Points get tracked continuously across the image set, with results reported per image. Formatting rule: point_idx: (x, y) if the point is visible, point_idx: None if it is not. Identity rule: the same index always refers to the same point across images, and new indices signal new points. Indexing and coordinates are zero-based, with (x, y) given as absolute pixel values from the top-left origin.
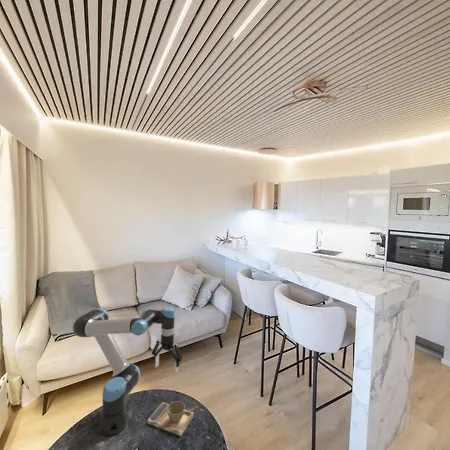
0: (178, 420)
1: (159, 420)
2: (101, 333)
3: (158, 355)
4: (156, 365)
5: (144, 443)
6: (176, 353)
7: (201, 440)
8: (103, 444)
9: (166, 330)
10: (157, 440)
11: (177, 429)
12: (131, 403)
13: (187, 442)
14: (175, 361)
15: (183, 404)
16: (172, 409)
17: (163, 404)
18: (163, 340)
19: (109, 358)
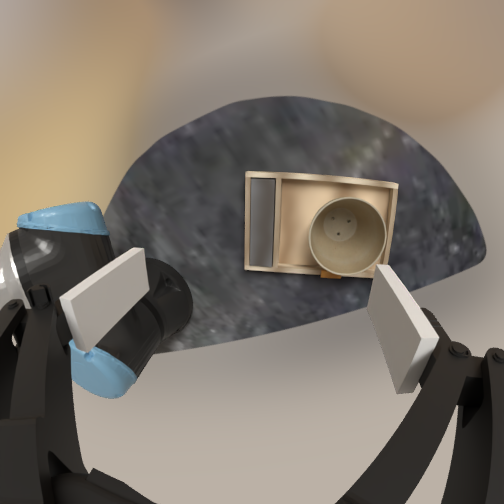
0: (360, 242)
1: (282, 246)
2: None
3: (76, 312)
4: (139, 293)
5: (283, 324)
6: (447, 499)
7: (440, 265)
8: (184, 347)
9: None
10: (315, 307)
11: (369, 273)
12: (137, 208)
13: (405, 284)
14: (403, 385)
15: (373, 207)
16: (320, 214)
17: (259, 185)
18: None
19: None
